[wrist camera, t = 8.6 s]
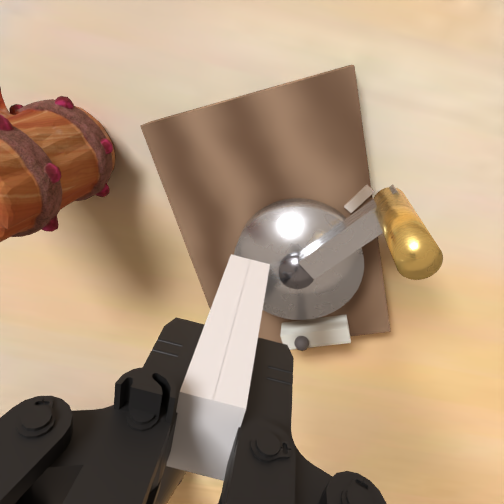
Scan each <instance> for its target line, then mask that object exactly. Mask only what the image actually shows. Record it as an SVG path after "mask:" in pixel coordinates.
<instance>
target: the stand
mask: <svg viewBox="0 0 504 504" xmlns="http://www.w3.org/2000/svg"><path fill="white" fill-rule="evenodd" d="M141 129H142V131H143V134H144V137H145V139H146V142H147V145H148V147H149V150H150V152H151V155H152V158H153V160H154V163H155V166H156V168H157V171H158V173H159V176H160V179H161V181H162V184H163V187H164V189H165V192H166V194H167V197H168V200H169V202H170V205H171V208H172V210H173V213H174V215H175V218H176V221H177V223H178V226H179V229H180V231H181V234H182V236H183V239H184V242H185V244H186V247H187V250H188V252H189V255H190V257H191V260H192V263H193V265H194V268H195V271H196V273H197V276H198V278H199V281H200V284H201V286H202V289H203V292H204V294H205V297H206V299H207V302H208V305H209V307H210V309H211V307H212V304H213V301H214V298H215V296H216V293H217V290H218V288H219V285H220V282H221V280H222V277H223V274H224V272H225V269H226V266H227V264H228V261H229V258H230V256H231V254H232V255H234V252H235V248H236V245H237V242H238V240H239V237H240V235H241V232H242V230H243V228H244V226H245V225H246V223H247V222H248V221H249V220H250V218H251V217H252V216H253V215H254V214H255V213H257V212H258V211H259V210H261V209H262V208H264V207H266V206H268V205H270V204H272V203H275V202H277V201H281V200H285V199H293V198H304V199H311V200H316V201H319V202H322V203H325V204H327V205H329V206H331V207H333V208H335V209H336V210H338V211H339V212H340V213H342V214H343V215H344V216H345V217H346V218H348V217H349V216H350V215H352V214H353V213H354V212H356V211H357V210H359V209H360V208H361V207H363V206H364V205H365V204H367V203H368V202H370V201H371V200H372V194H373V193H374V190H372V189H371V185H370V177H369V170H368V163H367V155H366V148H365V141H364V133H363V126H362V119H361V111H360V104H359V97H358V89H357V82H356V75H355V67H354V65H349V66H345V67H342V68H338V69H335V70H331V71H328V72H324V73H320V74H317V75H313V76H310V77H306V78H303V79H299V80H296V81H292V82H289V83H285V84H282V85H278V86H275V87H271V88H268V89H264V90H260V91H257V92H253V93H250V94H246V95H243V96H239V97H236V98H232V99H229V100H225V101H222V102H218V103H215V104H211V105H207V106H204V107H200V108H197V109H193V110H190V111H186V112H183V113H179V114H176V115H172V116H169V117H165V118H162V119H158V120H155V121H151V122H148V123H146V124H144V125H141ZM361 248H362V252H363V257H364V273H363V277H362V281H361V283H360V285H359V288H358V289H357V291H356V293H355V294H354V295H353V297H352V298H351V299H350V300H349V301H348V302H347V303H346V304H345V305H344V306H342V307H341V308H339V309H338V310H336V311H334V312H332V313H330V314H328V315H325V316H323V317H319V318H315V319H308V320H292V319H286V318H281V317H278V316H275V315H272V314H270V313H268V312H266V311H264V310H262V316H261V322H260V328H259V334H258V337H259V338H263V339H267V340H271V341H275V342H278V343H282V344H286V345H288V347H289V350H291V349H298V350H301V351H303V350H306V349H307V348H309V347H318V346H327V345H336V344H345V343H351V338H350V336H356V335H365V334H374V333H382V332H390V324H389V317H388V310H387V302H386V295H385V288H384V280H383V273H382V266H381V258H380V251H379V244H378V237H376V238H375V239H373V240H372V241H370V242H369V243H367V244H366V245H364V246H363V247H361Z"/></svg>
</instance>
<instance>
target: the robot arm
mask: <svg viewBox="0 0 504 504" xmlns="http://www.w3.org/2000/svg"><path fill="white" fill-rule="evenodd" d="M269 268H270V264H267V263H263V262H259V261H255V260H251V259H247V258H243V257H239V256H236V255H232V254H231V256H230V258H229V261H228V264H227V266H226V269H225V272H224V274H223V277H222V280H221V282H220V285H219V288H218V290H217V293H216V296H215V298H214V301H213V304H212V307H211V309H210V312H209V315H208V317H207V320H206V323H205V325H204V324H200V323H196V322H192V321H188V320H184V319H180V318H175V319H174V320H172V321H171V322H170V323H168V324H167V325H165V326H164V328H163V330H162V332H161V334H160V336H159V337H158V340H157V341H156V343H155V345H154V347H153V349H152V351H151V353H150V355H149V357H148V359H147V360H146V362H145V364H144V366H143V367H142V368H137V369H133V370H131V371H129V372H127V373H125V374H123V375H122V376H121V377H120V378H119V380H118V381H117V382H116V383H115V397H114V405H113V406H110V407H107V408H104V409H97V410H80V411H71V409H70V406H69V405H68V404H67V403H66V402H65V401H64V400H62V399H60V398H57V397H53V396H37V397H34V398H31V399H28V400H24V401H23V402H21V403H20V404H18V405H16V406H15V407H13V408H12V409H11V410H9V411H8V412H7V413H6V414H5V415H3V416H2V417H1V418H0V504H166V503H167V502H168V500H169V499H170V497H171V496H172V494H173V492H174V491H175V489H176V487H177V486H178V485H179V484H180V482H181V481H182V479H183V477H184V475H185V472H186V471H188V472H192V473H196V474H199V475H203V476H207V477H211V478H215V479H219V480H223V481H224V483H223V488H222V493H221V496H220V500H219V503H218V504H386V502H385V500H384V498H383V496H382V494H381V493H380V491H379V490H378V489H377V488H376V487H375V485H374V484H373V483H372V482H371V481H370V480H368V479H367V478H365V477H363V476H362V475H360V474H358V473H354V472H349V471H345V472H340V473H336V474H335V475H334V476H333V477H332V476H331V475H329V474H327V473H326V472H324V471H322V470H321V469H319V468H318V467H316V466H314V465H313V464H311V463H310V462H309V461H307V460H306V459H305V458H304V457H303V456H302V455H301V453H300V452H299V451H298V449H297V448H296V446H295V444H294V441H293V439H292V434H291V413H292V383H293V375H292V374H293V356H292V354H291V352H290V350H289V347H288V345H286V344H282V343H278V342H275V341H271V340H267V339H263V338H259V337H258V334H259V328H260V322H261V316H262V310H263V304H264V298H265V292H266V286H267V280H268V274H269Z"/></svg>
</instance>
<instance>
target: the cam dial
mask: <svg viewBox="0 0 504 504" xmlns="http://www.w3.org/2000/svg"><path fill="white" fill-rule="evenodd" d="M382 233H383V234H384V237H385V239H386V242H387V245H388V247H389V250H390V252H391V255H392V257H393V260H394V262H395V265H396V267H397V269H398V271H399V273H400V274H401V275H403V276H404V277H406V278H409V279H414V280H420V279H425V278H428V277H430V276H432V275H433V274H434V273H436V272H437V271H438V270H439V268H440V267H441V264H442V261H443V255H442V252H441V250H440V248H439V247H438V245H437V244H436V242H435V241H434V239H433V238H432V236H431V235H430V233H429V232H428V230H427V228H426V227H425V225H424V224H423V222H422V221H421V219H420V218H419V216H418V215H417V213H416V212H415V210H414V208H413V207H412V205H411V204H410V202H409V201H408V199H407V198H406V196H405V195H404V193H403V192H402V191H401V190H399V189H397V188H395V187H394V185H392V186H390V187H389V188H385V189H382V190H381V191H379V192H378V193H377V194H376V195H375V197H374V199H372V200H371V201H370V202H368V203H367V204H365V205H364V206H363V207H361V208H360V209H359V210H357V211H356V212H354V213H353V214H352V215H350V216H349V217H348V218H346V217H345V216H344V215H343V214H342V213H340V212H339V211H338V210H336V209H335V208H333V207H331V206H329V205H327V204H325V203H322V202H319V201H316V200H311V199H304V198H293V199H285V200H281V201H277V202H275V203H272V204H270V205H268V206H266V207H264V208H262V209H261V210H259V211H258V212H257V213H255V214H254V215H253V216H252V217H251V218H250V220H249V221H248V222H247V223H246V225H245V226H244V228H243V230H242V232H241V235H240V237H239V240H238V242H237V245H236V248H235V252H234V255H236V256H239V257H243V258H247V259H251V260H255V261H259V262H263V263H267V264H270V268H269V274H268V280H267V286H266V292H265V298H264V304H263V310H264V311H266V312H268V313H270V314H272V315H275V316H278V317H281V318H286V319H292V320H308V319H315V318H319V317H323V316H325V315H328V314H330V313H332V312H334V311H336V310H338V309H339V308H341V307H342V306H344V305H345V304H346V303H347V302H348V301H349V300H350V299H351V298H352V297H353V295H354V294H355V293H356V291H357V289H358V288H359V285H360V283H361V281H362V277H363V273H364V257H363V252H362V248H361V247H363V246H364V245H366V244H367V243H369V242H370V241H372V240H373V239H375V238H376V237H378V236H379V235H380V234H382Z"/></svg>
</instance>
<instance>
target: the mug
mask: <svg viewBox="0 0 504 504" xmlns="http://www.w3.org/2000/svg"><path fill="white" fill-rule="evenodd" d="M114 165H115V152H114V148H113V143H112V141H111V140H110V138H109V136H108V134H107V133H106V131H105V130H104V128H103V127H102V125H101V124H100V122H99V121H97V120H96V119H95V118H94V117H93V116H92V115H90V114H89V113H88V112H86V111H85V110H83V109H81V108H79V107H76V106H74V105H73V103H72V101H71V100H70V99H69V98H68V97H63V96H61V97H58V98H57V99H56V100H53V99H52V100H44V101H39V102H34V103H31V104H29V105H26V106H24V107H23V106H22V105H19V104H15V105H13V106H11V107H10V113H9V111H8V110H7V108H6V106H5V103H4V100H3V98H2V94H1V88H0V242H1V241H3V240H5V239H7V238H9V237H21V236H26V235H30V234H33V233H35V232H37V231H39V230H41V229H42V230H44V231H51V232H52V231H54V230H56V229H58V220H57V214H58V212H59V211H60V209H62V208H63V207H65V206H66V205H68V204H70V203H71V202H73V201H80V200H85V199H87V198H90V197H92V196H94V195H97V196H100V197H104V196H107V195H108V193H109V187H108V185H107V182H108V180H109V178H110V175H111V172H112V170H113V169H114Z"/></svg>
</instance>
